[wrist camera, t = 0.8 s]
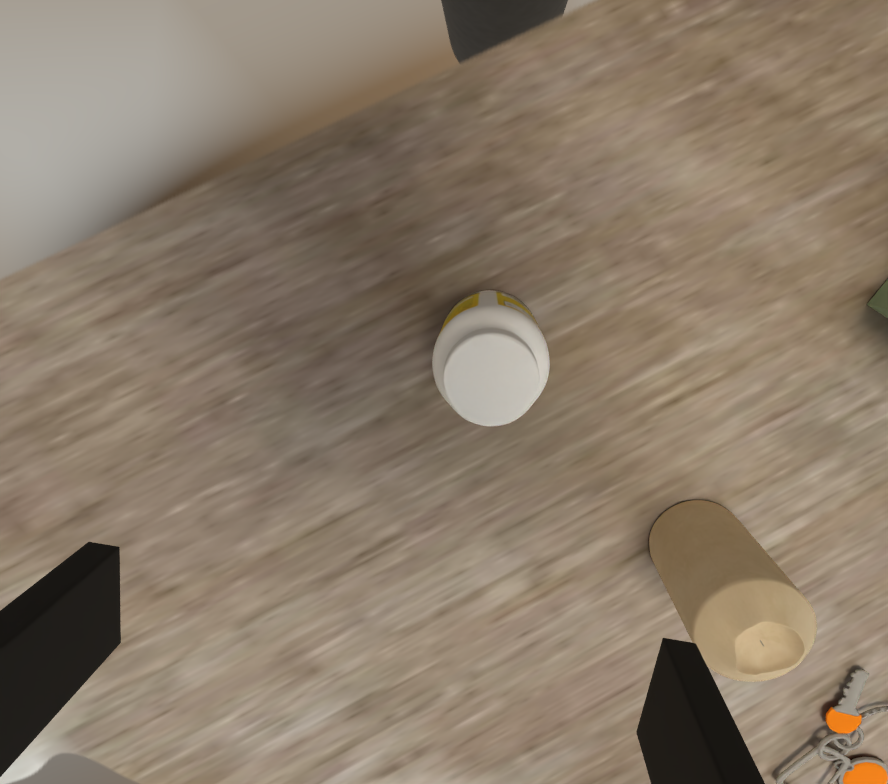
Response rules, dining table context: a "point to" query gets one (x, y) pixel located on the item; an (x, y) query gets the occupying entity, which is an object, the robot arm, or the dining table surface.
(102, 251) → the dining table surface
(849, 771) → the key chain
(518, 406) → the supplement bottle
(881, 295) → the green l-shaped stand
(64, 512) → the dining table surface
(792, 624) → the candle
